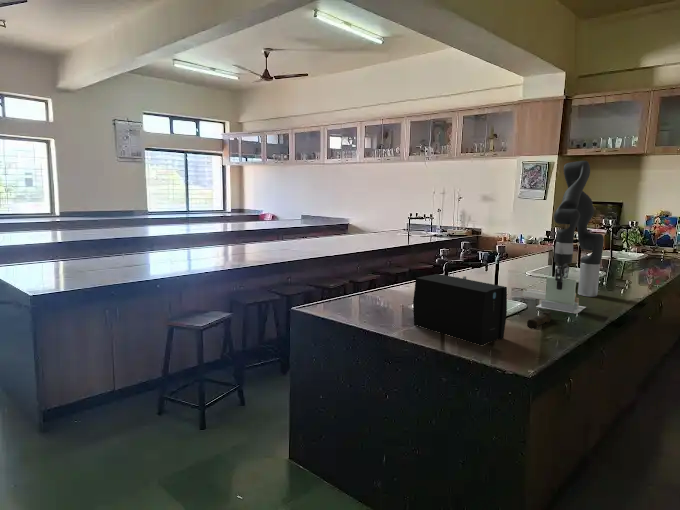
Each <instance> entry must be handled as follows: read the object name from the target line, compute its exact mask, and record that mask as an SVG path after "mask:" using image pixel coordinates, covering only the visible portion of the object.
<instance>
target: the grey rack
mask: <svg viewBox="0 0 680 510" xmlns="http://www.w3.org/2000/svg"><path fill="white" fill-rule="evenodd" d="M535 307H536V308H541V309H545V310H546V309H548V310H553V311H560V312H564V313H571V314H575V315H576V314H579V313H581V312H582V311H583V310H584V309H586V308H587V306H582V305H579V306H578V303H575V302H574V305H569V304H563V303H557V302H551V301H545V300H541V303H540V304H538V305H536V306H535Z"/></svg>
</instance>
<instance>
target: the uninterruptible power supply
mask: <svg viewBox="0 0 680 510" xmlns="http://www.w3.org/2000/svg"><path fill="white" fill-rule="evenodd" d="M457 277H458V276H451V275H446V274H441V273H440V274H439V273H435V274H429V275H424V276H419V277H418V276H417V277H415V283H414V292H413V299H412V300H413V301H412V307H413V309H412V310H413V311H412V312H413V326H415V325H418V326H421V327H424V328H427V329H426V330H428V329H430V330H429V331H431V330H433V331H432V332H434V331H437V332H440V333H439V334H441V333H443V334H442V335H444V334H447V335H450V336H453V337H452V338H454V337H456V338H455V339H457V338H460V339H463V340H466V341H465V342H467V341H469V342H468V343H470V342H472V343H471V344H473V343H476V344H479V345H478V346H480V345H484V344H486V343H487V344H489V343H488V342H490V343H492V342H495V341H498V340H503V339H504V336H505V328H506V323H507V314H508V313H507V312H508V286H503V285H499V284H494V283H493V284H492V283H488V282H482V281H477V280H472V279H467V278H466V279H463V277H462V278H461V277H459V278H457ZM418 326H417V327H418ZM421 327H420V328H421ZM424 328H423V329H424ZM437 332H436V333H437ZM447 335H446V336H447ZM450 336H449V337H450ZM502 338H503V339H502ZM460 339H459V340H460ZM497 339H498V340H497ZM463 340H462V341H463ZM494 340H495V341H494ZM491 341H492V342H491ZM476 344H475V345H476ZM487 344H486V345H487ZM484 346H485V345H484Z"/></svg>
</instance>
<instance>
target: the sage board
mask: <svg viewBox="0 0 680 510" xmlns="http://www.w3.org/2000/svg"><path fill="white" fill-rule="evenodd" d="M545 287H546V288H545V291H546V297H545V301H551V302H557V303H563V304H569V305H574V302H575V294H576V288H577V279H571V278H567V279H565V278H563V283H562V290H558V289H557V281H556V280H555V276H550V275H549V276H547V277H546V285H545Z"/></svg>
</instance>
